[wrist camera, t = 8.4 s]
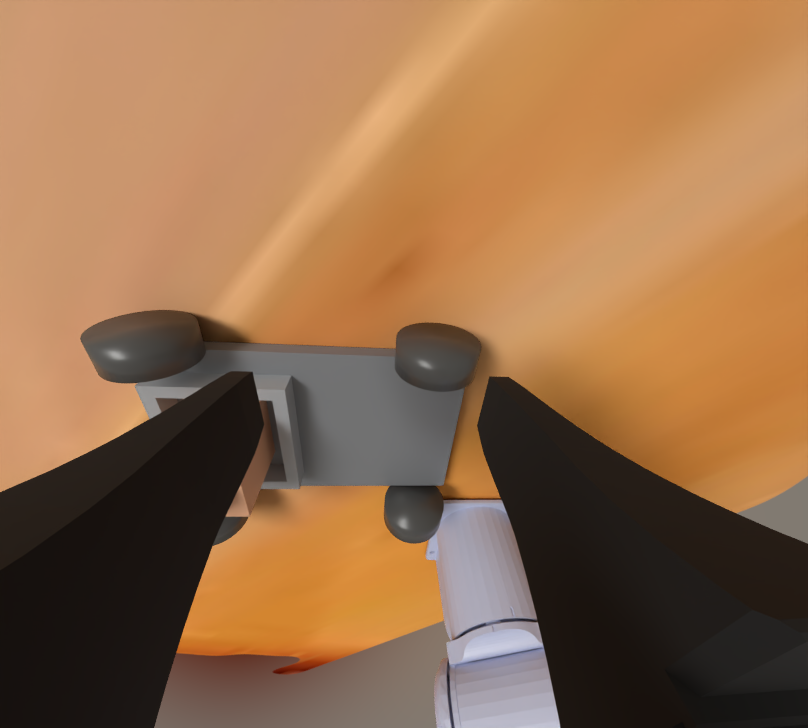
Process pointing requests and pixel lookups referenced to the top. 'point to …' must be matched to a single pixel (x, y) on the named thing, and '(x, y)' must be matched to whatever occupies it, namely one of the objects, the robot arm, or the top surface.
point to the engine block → (254, 471)
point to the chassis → (317, 403)
